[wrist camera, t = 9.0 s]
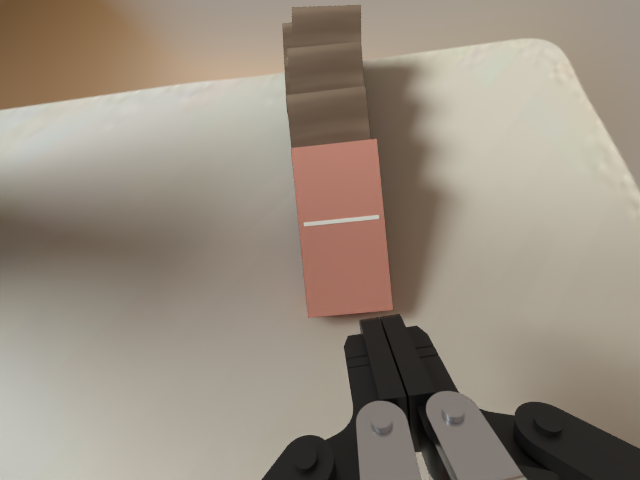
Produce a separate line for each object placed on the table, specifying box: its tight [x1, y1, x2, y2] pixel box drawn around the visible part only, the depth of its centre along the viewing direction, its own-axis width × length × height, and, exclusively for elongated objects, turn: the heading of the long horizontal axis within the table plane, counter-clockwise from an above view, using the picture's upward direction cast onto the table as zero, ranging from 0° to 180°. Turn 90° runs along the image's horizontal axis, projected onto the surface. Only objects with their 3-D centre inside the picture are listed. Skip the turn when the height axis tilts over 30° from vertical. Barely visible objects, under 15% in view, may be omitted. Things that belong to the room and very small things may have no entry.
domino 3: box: [287, 42, 364, 95], centre depth 23 cm, size 2×5×10 cm
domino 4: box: [292, 5, 361, 48], centre depth 24 cm, size 2×5×10 cm
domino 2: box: [286, 86, 370, 148], centre depth 21 cm, size 2×5×10 cm
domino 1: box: [291, 139, 393, 318], centre depth 20 cm, size 2×5×10 cm
